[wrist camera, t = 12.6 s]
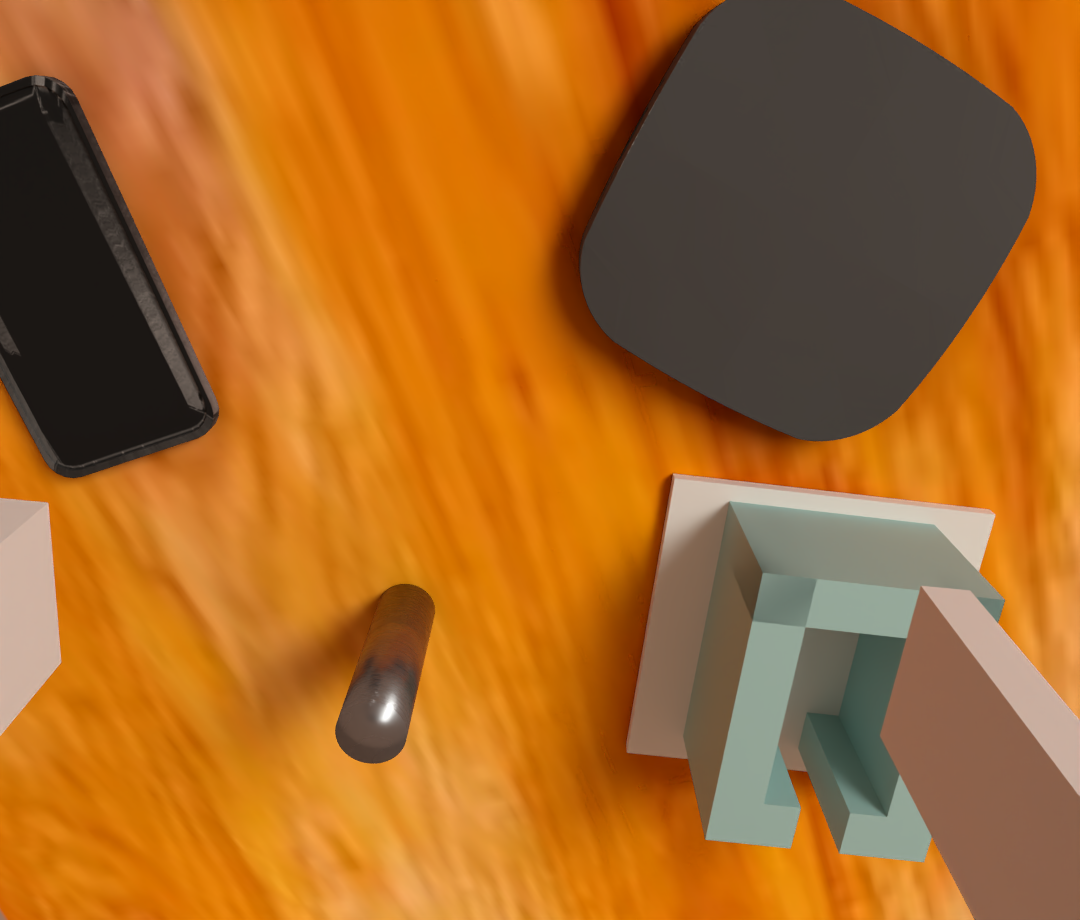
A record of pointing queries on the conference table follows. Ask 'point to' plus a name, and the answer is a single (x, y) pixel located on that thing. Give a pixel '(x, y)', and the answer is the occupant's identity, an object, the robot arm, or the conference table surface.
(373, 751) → the grey cylinder
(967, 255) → the media streaming box
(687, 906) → the conference table surface
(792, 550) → the green u-shaped block
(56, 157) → the phone
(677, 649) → the mat
